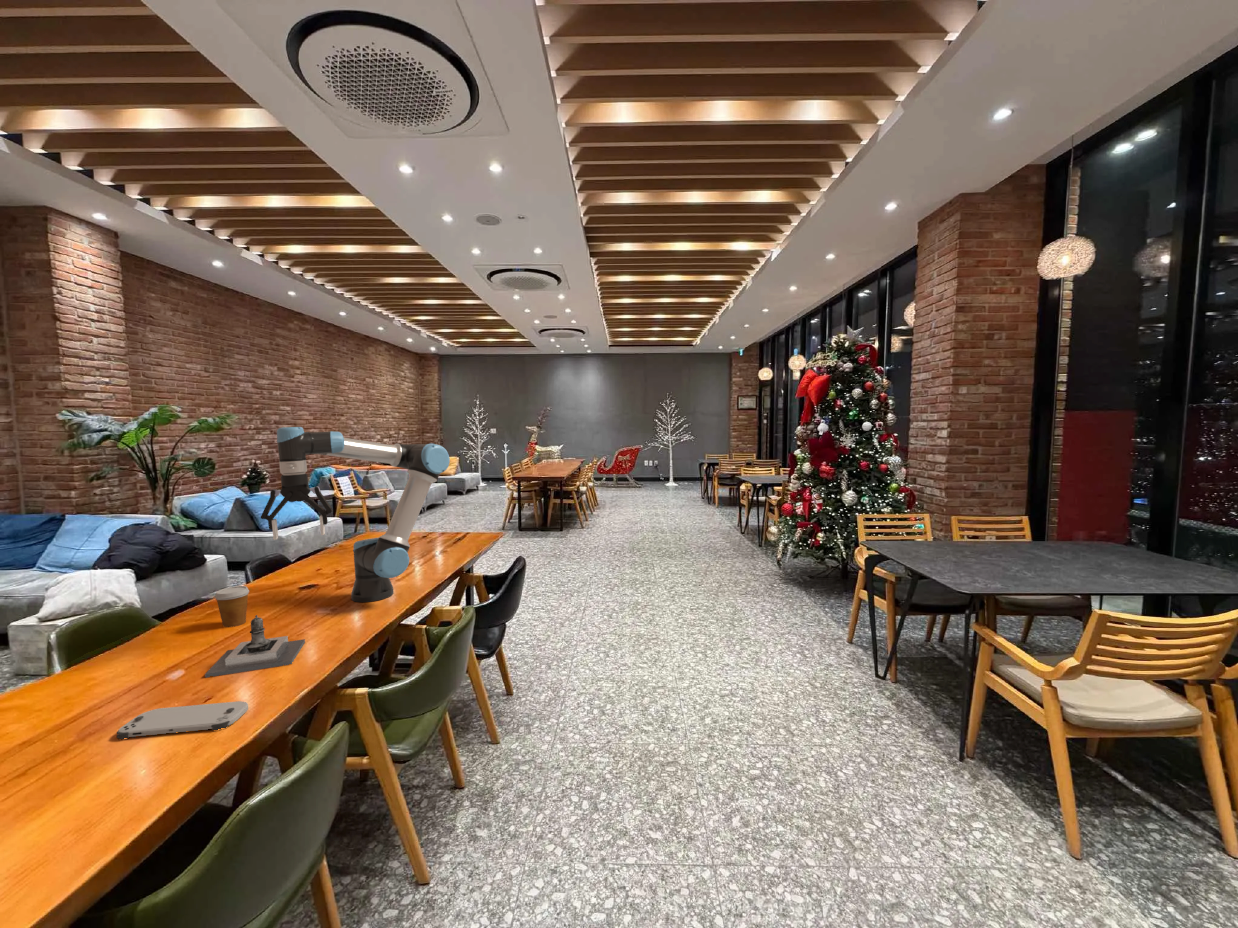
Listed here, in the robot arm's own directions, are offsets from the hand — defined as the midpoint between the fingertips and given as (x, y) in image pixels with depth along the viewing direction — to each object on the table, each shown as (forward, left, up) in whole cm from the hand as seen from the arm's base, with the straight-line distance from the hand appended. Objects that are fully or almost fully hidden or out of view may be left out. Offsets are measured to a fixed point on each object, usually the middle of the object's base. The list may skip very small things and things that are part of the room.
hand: (299, 536), depth 169 cm
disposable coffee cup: (+24, -13, -31) cm, 41 cm away
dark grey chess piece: (+7, +23, -30) cm, 38 cm away
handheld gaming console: (+12, +56, -31) cm, 65 cm away
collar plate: (+7, +23, -31) cm, 39 cm away
